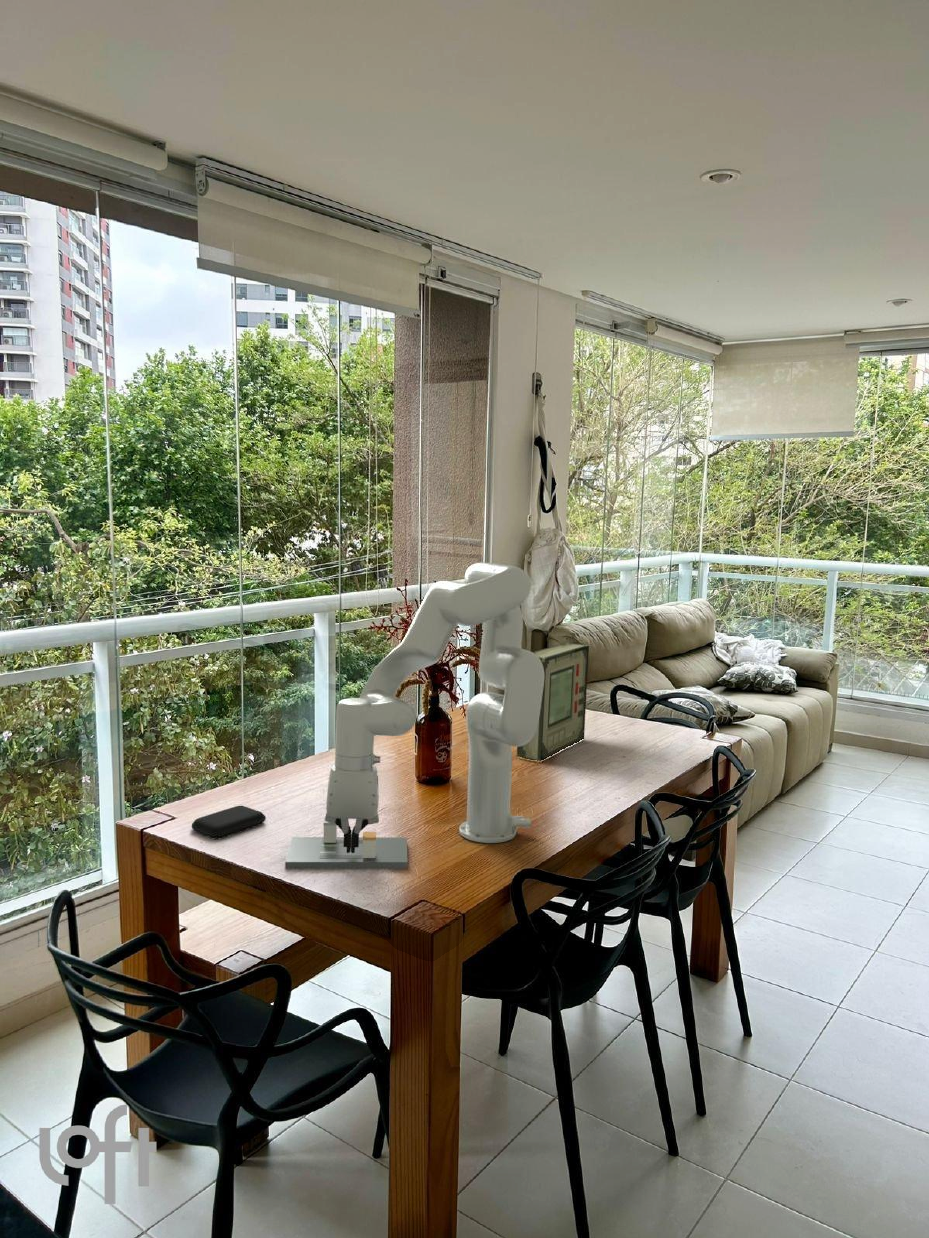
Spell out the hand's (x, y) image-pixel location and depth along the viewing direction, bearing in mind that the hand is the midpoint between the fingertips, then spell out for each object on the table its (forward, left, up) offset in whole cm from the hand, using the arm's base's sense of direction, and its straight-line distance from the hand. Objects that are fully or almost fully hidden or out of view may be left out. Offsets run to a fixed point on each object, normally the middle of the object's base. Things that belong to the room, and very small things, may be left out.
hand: (350, 850), depth 181 cm
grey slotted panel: (+1, -4, -3) cm, 5 cm away
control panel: (-55, -85, -3) cm, 102 cm away
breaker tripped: (-4, 0, -1) cm, 4 cm away
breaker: (+5, -8, -1) cm, 10 cm away
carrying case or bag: (+28, -21, -4) cm, 35 cm away
